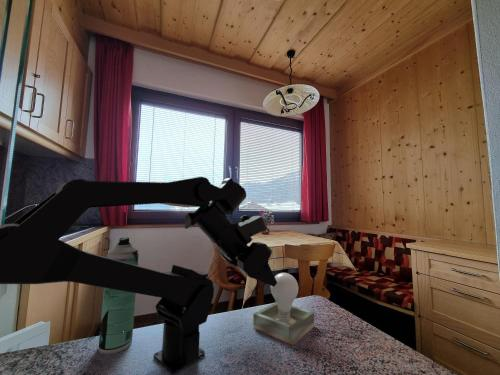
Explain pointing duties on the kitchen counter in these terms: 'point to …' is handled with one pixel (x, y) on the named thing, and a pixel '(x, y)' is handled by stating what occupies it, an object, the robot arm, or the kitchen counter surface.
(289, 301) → the lightbulb
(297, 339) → the open box
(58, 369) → the kitchen counter surface
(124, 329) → the spray can
